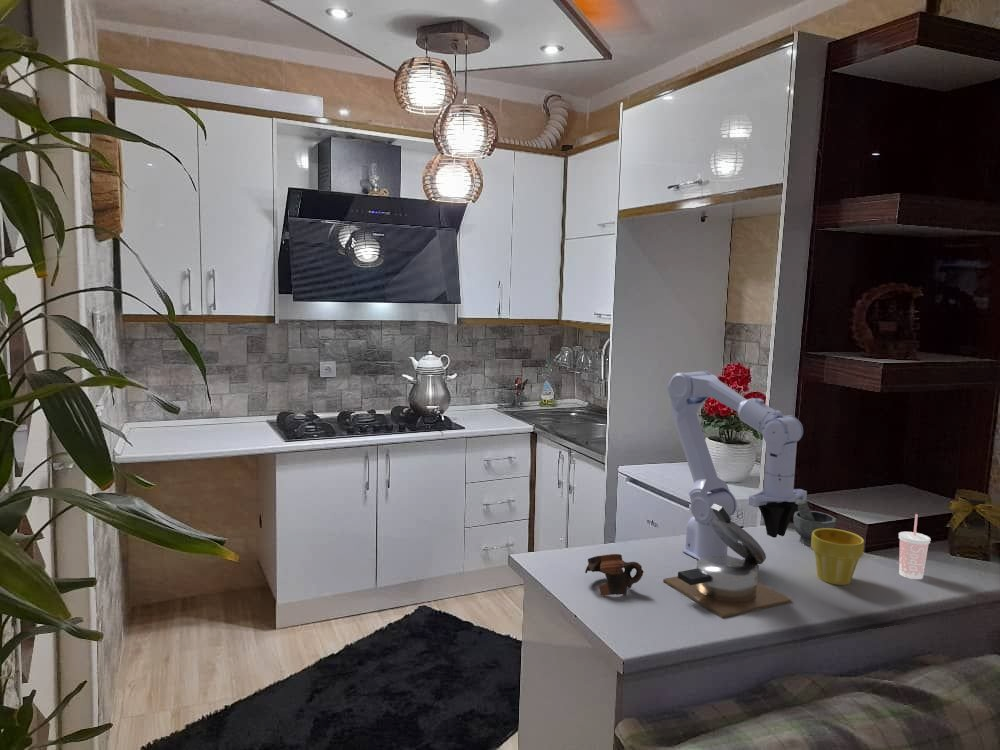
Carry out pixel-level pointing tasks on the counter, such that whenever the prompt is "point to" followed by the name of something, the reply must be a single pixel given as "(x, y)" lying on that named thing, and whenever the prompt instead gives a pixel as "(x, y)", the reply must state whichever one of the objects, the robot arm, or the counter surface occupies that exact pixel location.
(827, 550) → the plant pot
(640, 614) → the counter surface
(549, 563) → the counter surface
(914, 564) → the beverage cup
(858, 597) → the counter surface
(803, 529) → the mortar and pestle
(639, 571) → the pottery mug
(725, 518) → the cooker lid
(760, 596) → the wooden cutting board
